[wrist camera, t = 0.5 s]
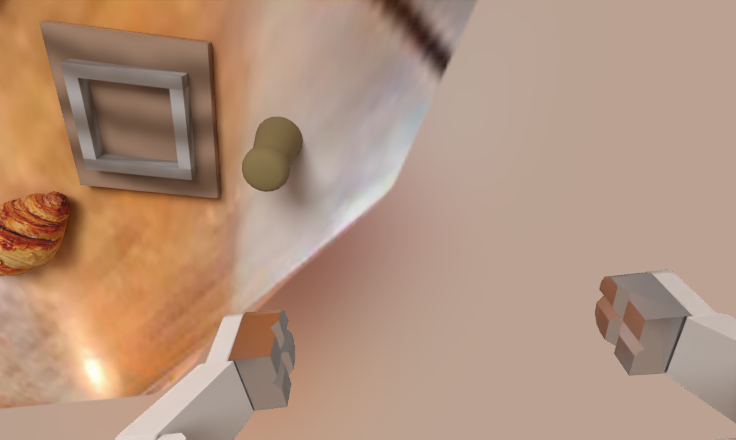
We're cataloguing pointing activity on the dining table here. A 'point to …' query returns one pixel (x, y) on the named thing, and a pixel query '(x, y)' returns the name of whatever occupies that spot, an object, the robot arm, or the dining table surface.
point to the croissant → (31, 231)
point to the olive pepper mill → (272, 154)
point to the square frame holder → (137, 108)
